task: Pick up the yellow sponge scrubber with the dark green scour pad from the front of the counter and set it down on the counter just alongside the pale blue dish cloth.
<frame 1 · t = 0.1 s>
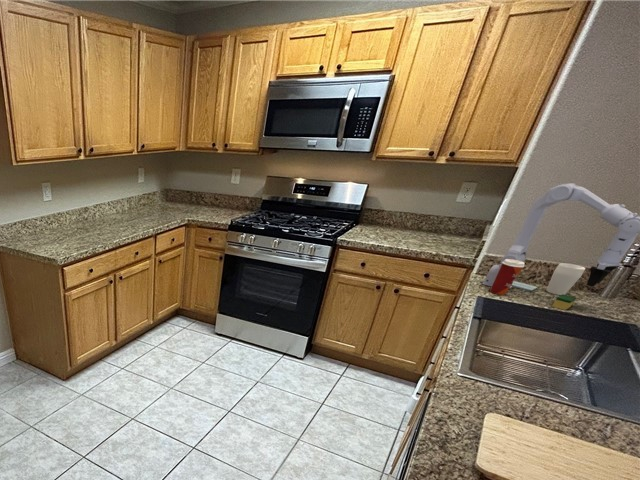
hand: (592, 284, 166), 10 cm above the worktop, tool pointing down, fingers open, 7 cm apart
cloth: (519, 286, 192), on the worktop
paper cup: (497, 292, 184), on the worktop
cup: (555, 292, 186), on the worktop
scrubber: (560, 306, 172), on the worktop
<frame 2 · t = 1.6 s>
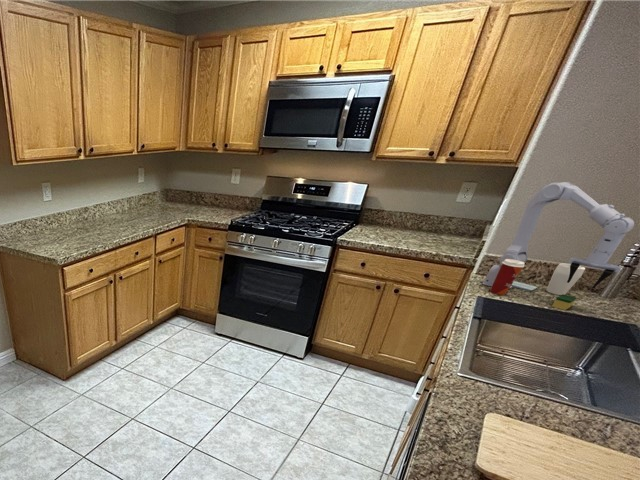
hand: (580, 284, 166), 10 cm above the worktop, tool pointing down, fingers open, 7 cm apart
nothing on the worktop moved.
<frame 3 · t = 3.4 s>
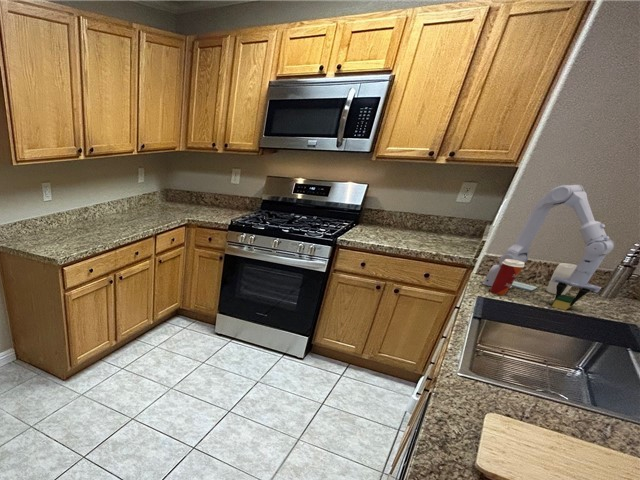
hand: (563, 303, 171), 1 cm above the worktop, tool pointing down, fingers closed on scrubber, 4 cm apart
scrubber: (561, 306, 172), on the worktop, touching gripper
everything else where it was.
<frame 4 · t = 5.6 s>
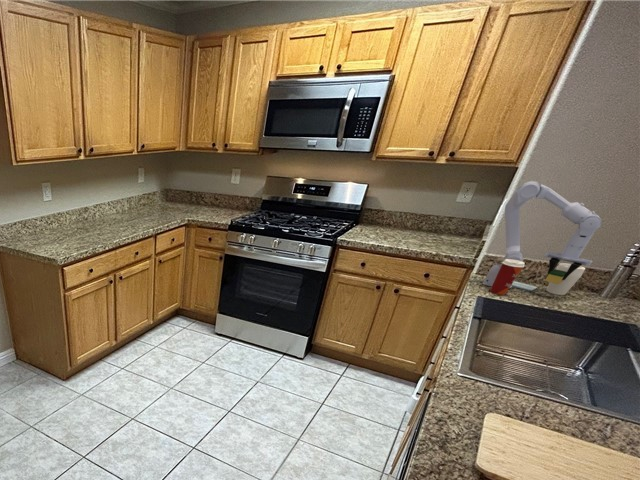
hand: (555, 277, 177), 8 cm above the worktop, tool pointing down, fingers closed on scrubber, 4 cm apart
scrubber: (553, 281, 178), point 7 cm above the worktop, touching gripper
everything else where it was.
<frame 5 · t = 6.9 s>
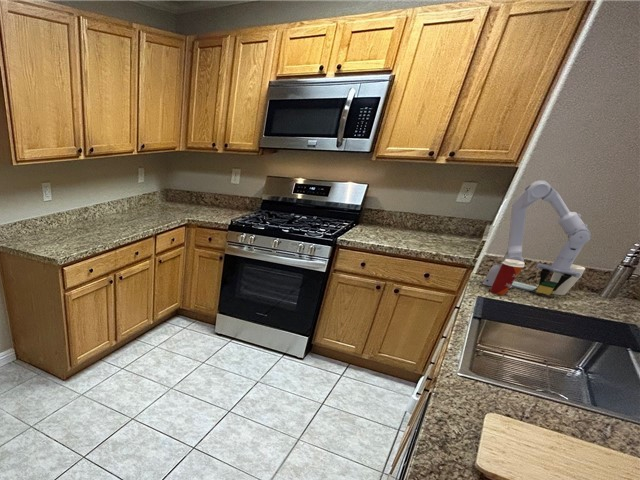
hand: (546, 288, 181), 3 cm above the worktop, tool pointing down, fingers closed on scrubber, 4 cm apart
scrubber: (544, 291, 182), point 1 cm above the worktop, touching gripper
everything else where it was.
when the fingers open (1 cm above the worktop, at t = 7.8 s): scrubber stays where it is, on the worktop.
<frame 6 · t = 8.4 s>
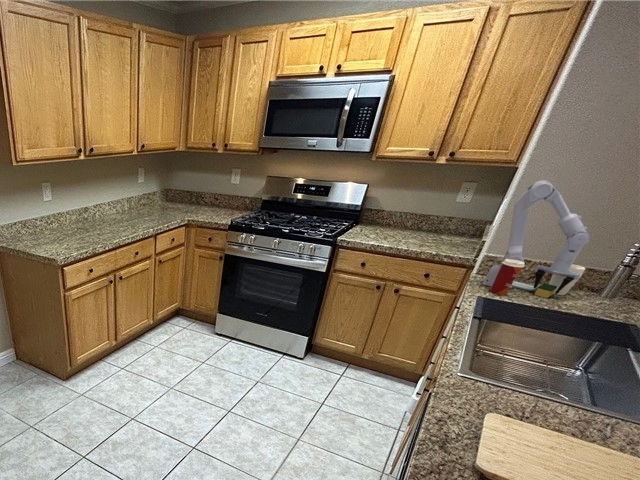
hand: (545, 290, 182), 2 cm above the worktop, tool pointing down, fingers open, 7 cm apart
scrubber: (543, 294, 183), on the worktop
everything else where it was.
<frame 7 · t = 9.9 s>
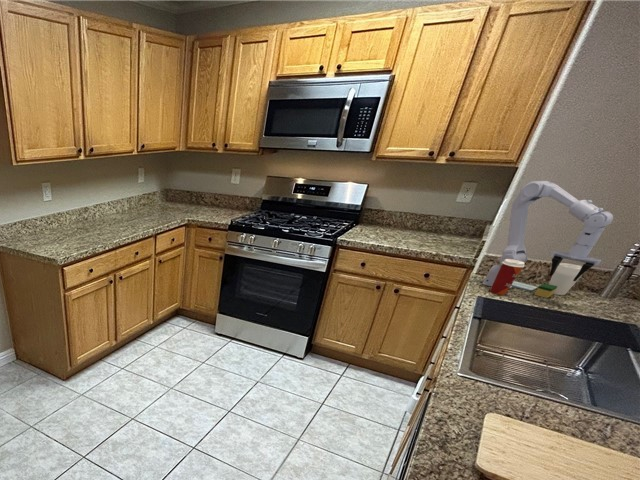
hand: (562, 277, 170), 10 cm above the worktop, tool pointing down, fingers open, 7 cm apart
nothing on the worktop moved.
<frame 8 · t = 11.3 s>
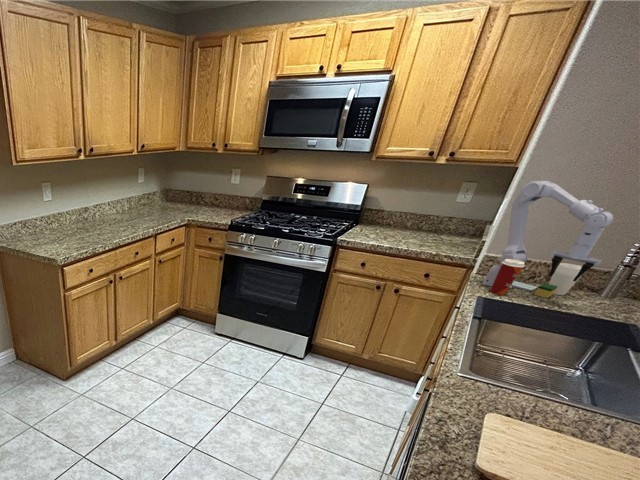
hand: (562, 278, 170), 10 cm above the worktop, tool pointing down, fingers open, 7 cm apart
nothing on the worktop moved.
at the end: scrubber inside the target area on the worktop beside the cloth (2.6 cm from its centre), on the worktop; scrubber tilted 0°; the gripper is holding nothing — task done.
